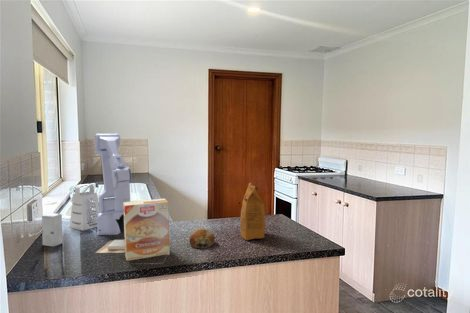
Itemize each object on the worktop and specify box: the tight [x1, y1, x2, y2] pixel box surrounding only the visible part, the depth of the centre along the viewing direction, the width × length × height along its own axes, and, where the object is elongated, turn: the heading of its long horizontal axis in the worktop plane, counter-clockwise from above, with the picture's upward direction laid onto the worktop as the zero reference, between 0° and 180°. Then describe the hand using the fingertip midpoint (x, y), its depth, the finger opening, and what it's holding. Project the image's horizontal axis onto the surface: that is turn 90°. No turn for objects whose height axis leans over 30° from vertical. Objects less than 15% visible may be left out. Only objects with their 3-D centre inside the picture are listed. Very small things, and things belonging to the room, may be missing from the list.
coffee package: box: [239, 182, 266, 241], centre depth 135 cm, size 10×12×22 cm
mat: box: [94, 239, 125, 254], centre depth 125 cm, size 14×14×1 cm
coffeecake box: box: [123, 198, 171, 261], centre depth 116 cm, size 15×7×20 cm, turn 114°
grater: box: [69, 183, 100, 231], centre depth 155 cm, size 10×10×20 cm
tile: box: [107, 239, 125, 250], centre depth 125 cm, size 7×2×7 cm
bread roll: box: [189, 228, 216, 249], centre depth 128 cm, size 10×10×8 cm
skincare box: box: [41, 212, 63, 248], centre depth 130 cm, size 6×4×12 cm
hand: (123, 232), depth 128 cm, fingers closed
